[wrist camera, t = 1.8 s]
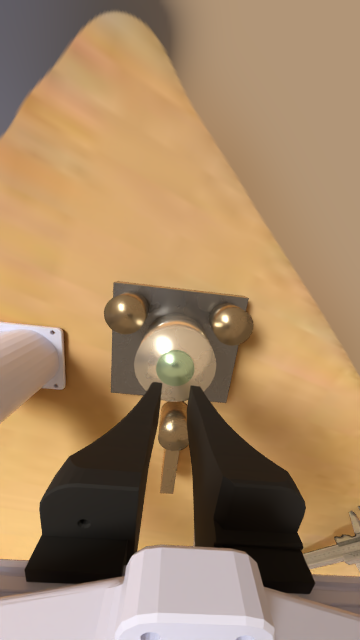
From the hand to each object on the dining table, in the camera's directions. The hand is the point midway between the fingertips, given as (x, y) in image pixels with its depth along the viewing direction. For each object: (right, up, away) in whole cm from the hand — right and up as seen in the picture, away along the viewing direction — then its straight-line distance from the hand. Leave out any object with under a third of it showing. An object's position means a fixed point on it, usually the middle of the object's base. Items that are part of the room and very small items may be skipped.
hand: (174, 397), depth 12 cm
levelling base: (0, -3, +12) cm, 12 cm away
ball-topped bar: (-1, -10, +13) cm, 17 cm away
